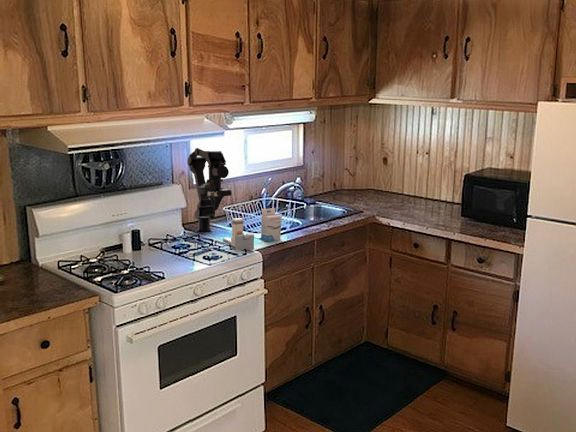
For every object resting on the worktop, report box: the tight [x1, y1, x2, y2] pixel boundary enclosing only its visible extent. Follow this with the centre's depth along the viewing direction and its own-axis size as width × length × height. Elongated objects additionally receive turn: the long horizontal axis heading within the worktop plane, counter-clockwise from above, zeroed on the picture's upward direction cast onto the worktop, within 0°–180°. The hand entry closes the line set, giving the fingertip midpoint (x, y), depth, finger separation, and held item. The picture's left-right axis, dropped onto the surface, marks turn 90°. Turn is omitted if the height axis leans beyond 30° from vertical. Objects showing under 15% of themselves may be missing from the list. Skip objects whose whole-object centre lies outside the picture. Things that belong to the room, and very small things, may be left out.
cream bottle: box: [230, 217, 245, 248], centre depth 282 cm, size 5×5×12 cm
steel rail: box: [222, 237, 232, 245], centre depth 286 cm, size 16×3×1 cm, turn 33°
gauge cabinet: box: [234, 233, 255, 251], centre depth 278 cm, size 4×8×6 cm, turn 123°
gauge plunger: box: [237, 231, 250, 240], centre depth 278 cm, size 8×2×2 cm, turn 33°
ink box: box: [260, 207, 282, 242], centre depth 296 cm, size 9×5×15 cm, turn 132°
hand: (215, 210), depth 296 cm, fingers closed
